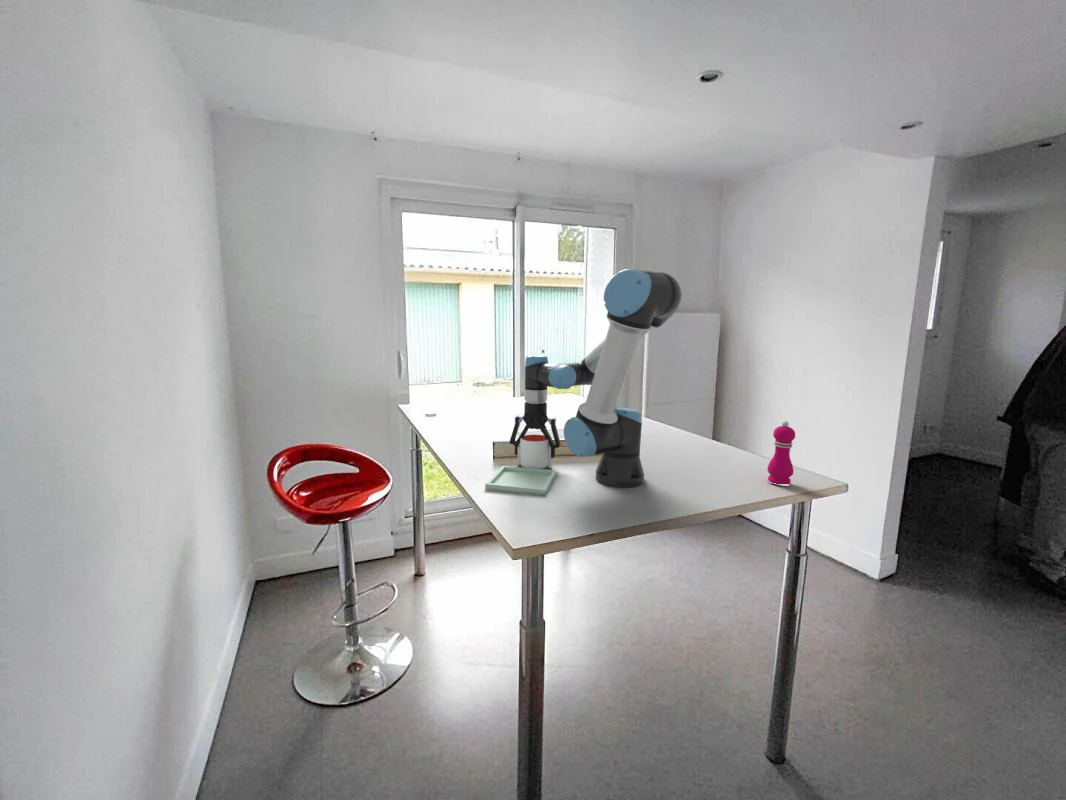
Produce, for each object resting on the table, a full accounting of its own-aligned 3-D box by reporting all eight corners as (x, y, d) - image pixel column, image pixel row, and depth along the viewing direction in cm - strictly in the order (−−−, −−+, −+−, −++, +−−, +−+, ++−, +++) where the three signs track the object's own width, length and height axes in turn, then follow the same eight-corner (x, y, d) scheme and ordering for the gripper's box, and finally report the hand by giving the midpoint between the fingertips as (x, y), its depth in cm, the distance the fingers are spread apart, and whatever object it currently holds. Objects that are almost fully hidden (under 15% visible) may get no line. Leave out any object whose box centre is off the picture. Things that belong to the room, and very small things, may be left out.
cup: (554, 465, 161) (555, 437, 159) (539, 472, 153) (539, 443, 151) (530, 460, 166) (530, 433, 165) (514, 467, 158) (514, 438, 156)
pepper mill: (794, 483, 146) (801, 421, 143) (788, 489, 141) (795, 425, 138) (770, 478, 151) (776, 417, 148) (762, 483, 146) (769, 421, 143)
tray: (556, 475, 150) (556, 470, 149) (545, 495, 132) (545, 489, 132) (502, 471, 154) (502, 465, 153) (485, 489, 136) (485, 483, 136)
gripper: (570, 401, 157) (568, 464, 161) (506, 398, 162) (505, 459, 165) (567, 405, 150) (565, 471, 153) (500, 401, 154) (499, 465, 158)
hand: (534, 465), depth 159 cm, fingers closed on cup, 10 cm apart
